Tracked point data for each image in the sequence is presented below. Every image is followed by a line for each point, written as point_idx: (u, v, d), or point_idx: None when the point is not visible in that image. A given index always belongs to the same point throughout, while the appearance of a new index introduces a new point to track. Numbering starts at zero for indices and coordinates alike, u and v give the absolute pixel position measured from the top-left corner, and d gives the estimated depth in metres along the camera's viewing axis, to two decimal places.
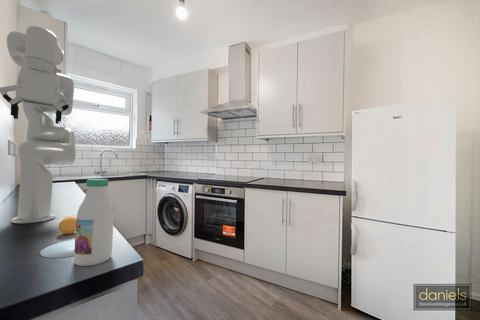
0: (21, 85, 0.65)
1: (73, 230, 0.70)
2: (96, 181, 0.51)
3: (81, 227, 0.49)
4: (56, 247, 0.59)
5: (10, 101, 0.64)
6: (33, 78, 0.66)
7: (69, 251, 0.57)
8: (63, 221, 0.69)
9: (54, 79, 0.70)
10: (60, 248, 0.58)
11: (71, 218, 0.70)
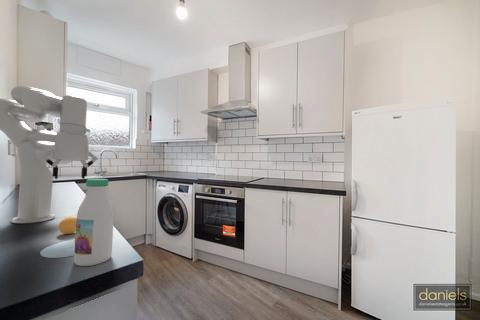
0: (58, 148, 0.74)
1: (73, 230, 0.70)
2: (96, 181, 0.51)
3: (81, 227, 0.49)
4: (56, 247, 0.59)
5: (52, 165, 0.74)
6: (67, 141, 0.76)
7: (69, 251, 0.57)
8: (63, 221, 0.69)
9: (85, 138, 0.80)
10: (60, 248, 0.58)
11: (71, 218, 0.70)
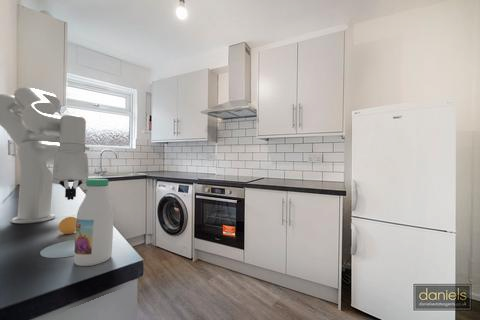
0: (58, 168, 0.74)
1: (73, 230, 0.70)
2: (96, 181, 0.51)
3: (81, 227, 0.49)
4: (56, 247, 0.59)
5: (65, 186, 0.76)
6: (67, 160, 0.76)
7: (69, 251, 0.57)
8: (63, 221, 0.69)
9: (84, 157, 0.79)
10: (60, 248, 0.58)
11: (71, 218, 0.70)
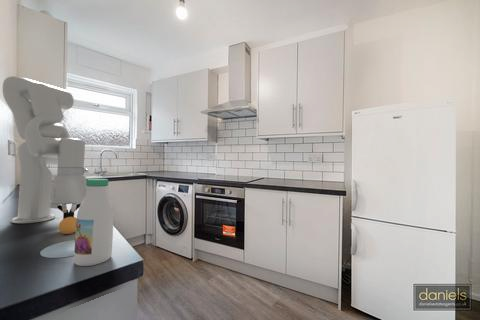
0: (56, 193, 0.73)
1: (73, 230, 0.70)
2: (96, 181, 0.51)
3: (81, 227, 0.49)
4: (56, 247, 0.59)
5: (63, 210, 0.75)
6: (66, 184, 0.75)
7: (69, 251, 0.57)
8: (63, 221, 0.69)
9: (83, 180, 0.79)
10: (60, 248, 0.58)
11: (71, 218, 0.70)
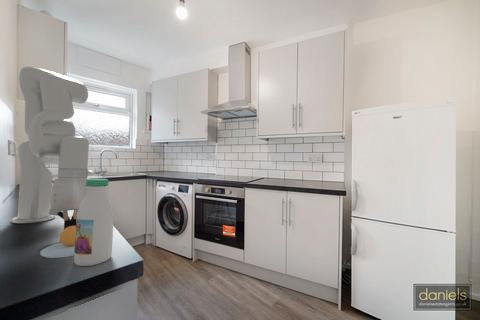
0: (56, 198, 0.65)
1: None
2: (96, 181, 0.51)
3: (81, 227, 0.49)
4: (56, 247, 0.59)
5: (64, 218, 0.67)
6: (67, 188, 0.66)
7: (69, 251, 0.57)
8: None
9: None
10: (60, 248, 0.58)
11: None
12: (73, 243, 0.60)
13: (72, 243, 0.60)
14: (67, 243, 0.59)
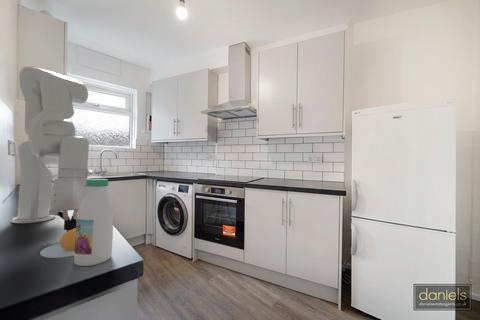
0: (56, 198, 0.65)
1: None
2: (96, 181, 0.51)
3: (81, 227, 0.49)
4: (56, 247, 0.59)
5: (64, 218, 0.67)
6: (67, 188, 0.66)
7: (69, 251, 0.57)
8: (65, 233, 0.57)
9: None
10: (60, 248, 0.58)
11: (75, 229, 0.59)
12: None
13: None
14: None
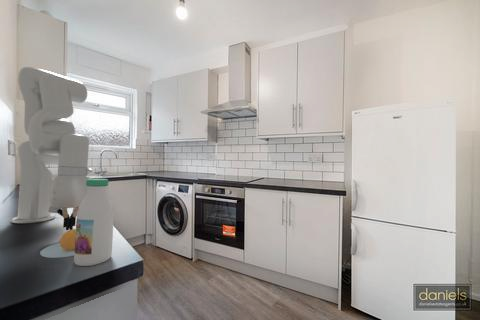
0: (56, 195, 0.65)
1: None
2: (96, 181, 0.51)
3: (81, 227, 0.49)
4: (56, 247, 0.59)
5: (63, 215, 0.67)
6: (67, 186, 0.66)
7: (69, 251, 0.57)
8: (65, 233, 0.57)
9: None
10: (60, 248, 0.58)
11: (75, 229, 0.59)
12: None
13: None
14: None
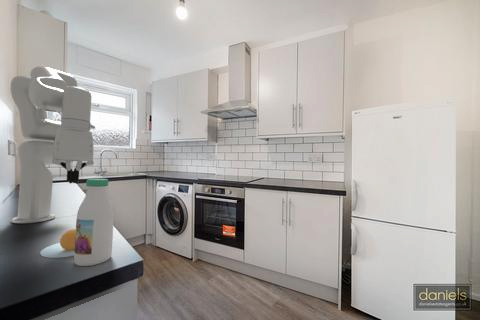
0: (59, 146, 0.65)
1: None
2: (96, 181, 0.51)
3: (81, 227, 0.49)
4: (56, 247, 0.59)
5: (67, 168, 0.67)
6: (70, 138, 0.67)
7: (69, 251, 0.57)
8: (65, 233, 0.57)
9: (89, 136, 0.70)
10: (60, 248, 0.58)
11: (75, 229, 0.59)
12: None
13: None
14: None
